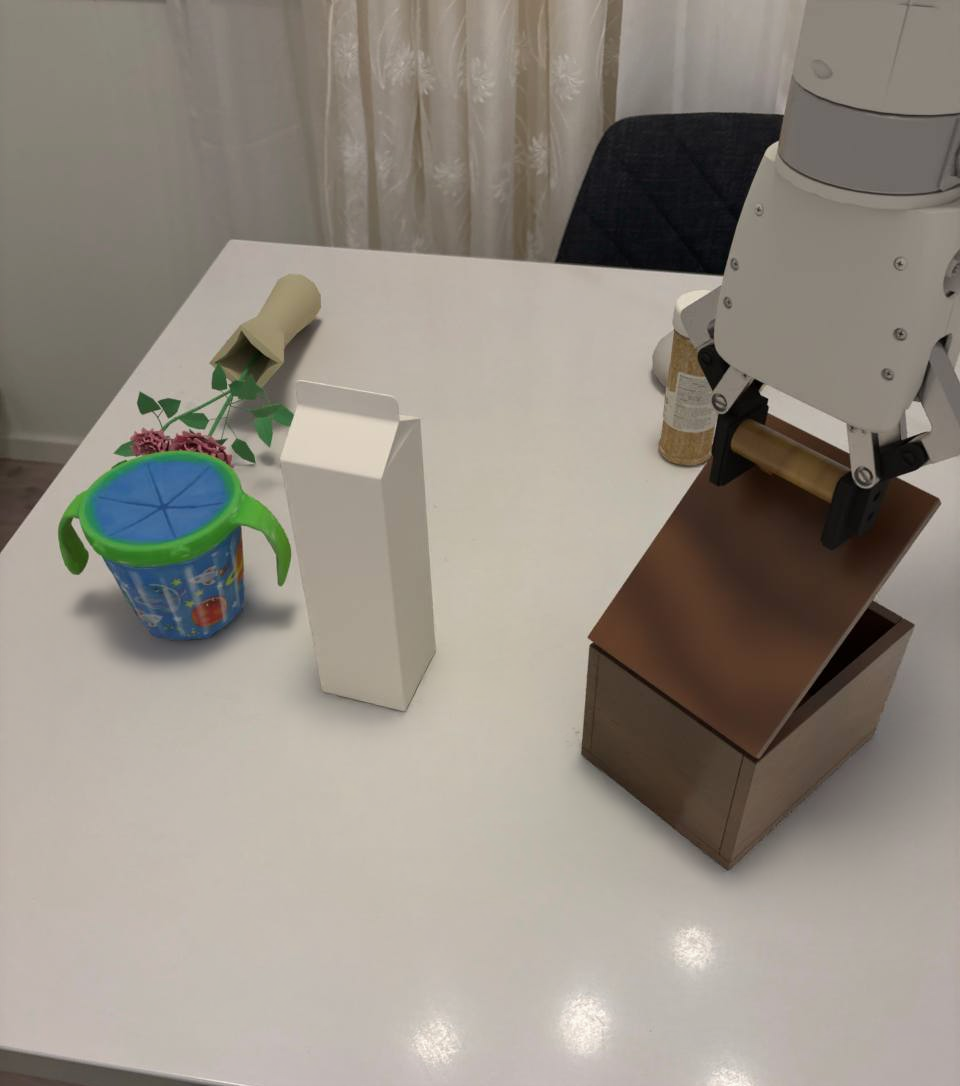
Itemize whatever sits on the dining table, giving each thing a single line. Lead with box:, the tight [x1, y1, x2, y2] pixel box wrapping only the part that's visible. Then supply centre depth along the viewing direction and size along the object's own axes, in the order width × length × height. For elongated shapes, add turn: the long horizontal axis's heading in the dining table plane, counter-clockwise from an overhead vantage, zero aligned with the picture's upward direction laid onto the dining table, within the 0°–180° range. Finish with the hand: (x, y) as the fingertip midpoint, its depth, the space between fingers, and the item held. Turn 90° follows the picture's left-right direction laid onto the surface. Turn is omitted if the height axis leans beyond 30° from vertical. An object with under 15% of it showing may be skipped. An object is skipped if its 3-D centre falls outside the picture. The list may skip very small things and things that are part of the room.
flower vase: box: [110, 273, 322, 470], centre depth 91 cm, size 12×12×35 cm
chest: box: [580, 600, 916, 871], centre depth 64 cm, size 15×12×10 cm
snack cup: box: [57, 451, 292, 641], centre depth 74 cm, size 16×10×10 cm
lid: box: [587, 412, 942, 759], centre depth 54 cm, size 15×12×6 cm
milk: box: [279, 379, 437, 712], centre depth 65 cm, size 6×6×22 cm
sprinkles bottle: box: [658, 289, 718, 466], centre depth 85 cm, size 5×5×14 cm
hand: (786, 501), depth 54 cm, fingers closed on lid, 6 cm apart
